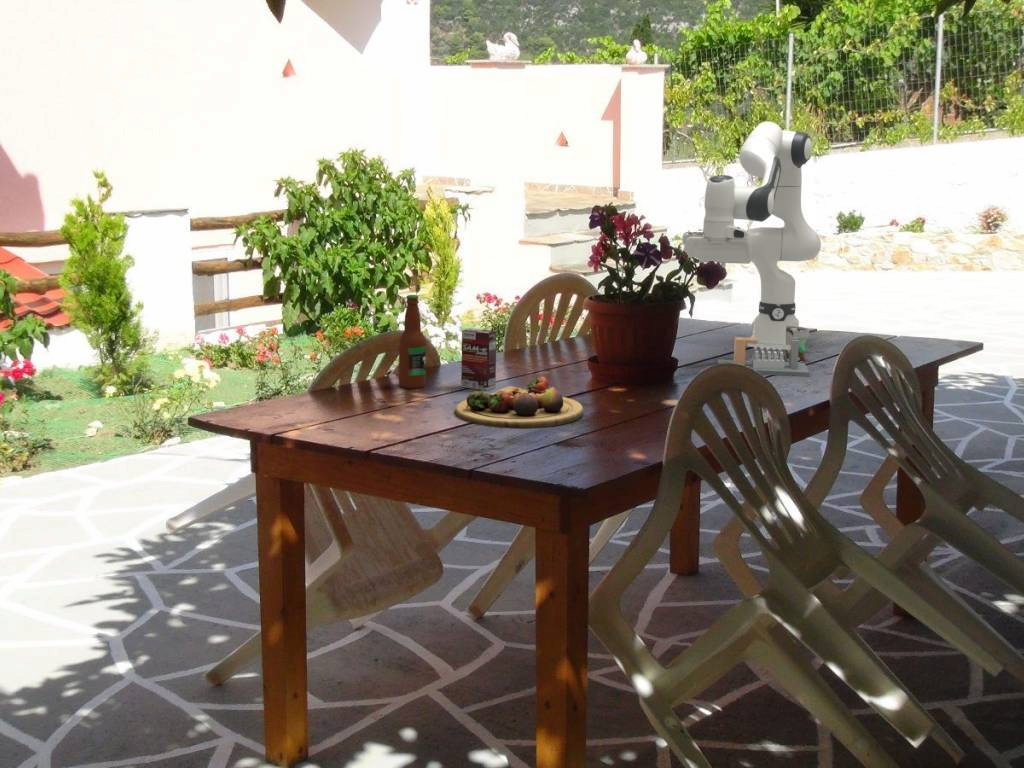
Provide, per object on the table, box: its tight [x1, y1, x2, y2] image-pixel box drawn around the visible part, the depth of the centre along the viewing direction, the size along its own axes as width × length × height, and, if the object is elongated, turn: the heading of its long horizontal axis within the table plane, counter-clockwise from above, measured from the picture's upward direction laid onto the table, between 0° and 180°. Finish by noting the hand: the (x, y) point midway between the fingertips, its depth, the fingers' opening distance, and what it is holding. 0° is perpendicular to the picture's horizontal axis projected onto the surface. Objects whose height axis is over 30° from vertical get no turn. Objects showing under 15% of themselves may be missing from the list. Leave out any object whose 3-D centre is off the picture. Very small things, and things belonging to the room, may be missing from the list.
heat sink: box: [717, 338, 810, 377], centre depth 383 cm, size 16×26×10 cm, turn 82°
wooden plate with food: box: [455, 376, 584, 429], centre depth 319 cm, size 32×32×8 cm
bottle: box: [398, 294, 427, 390], centre depth 348 cm, size 7×7×25 cm
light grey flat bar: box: [746, 342, 792, 350], centre depth 382 cm, size 3×15×1 cm, turn 82°
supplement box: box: [460, 327, 498, 391], centre depth 349 cm, size 9×5×16 cm, turn 62°
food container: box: [784, 326, 810, 363], centre depth 400 cm, size 12×6×10 cm, turn 179°
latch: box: [733, 336, 758, 365], centre depth 384 cm, size 6×6×8 cm
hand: (716, 278), depth 381 cm, fingers closed
